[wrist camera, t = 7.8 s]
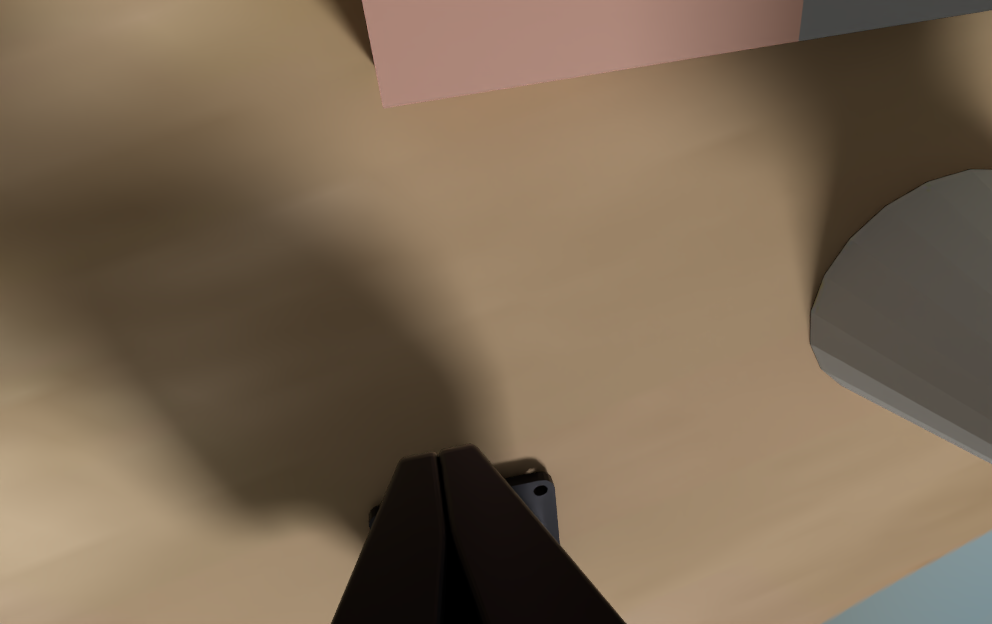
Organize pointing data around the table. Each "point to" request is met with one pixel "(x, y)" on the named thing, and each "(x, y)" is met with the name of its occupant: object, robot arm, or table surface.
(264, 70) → the table surface
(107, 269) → the table surface
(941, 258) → the lava lamp
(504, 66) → the pink rimmed tray
